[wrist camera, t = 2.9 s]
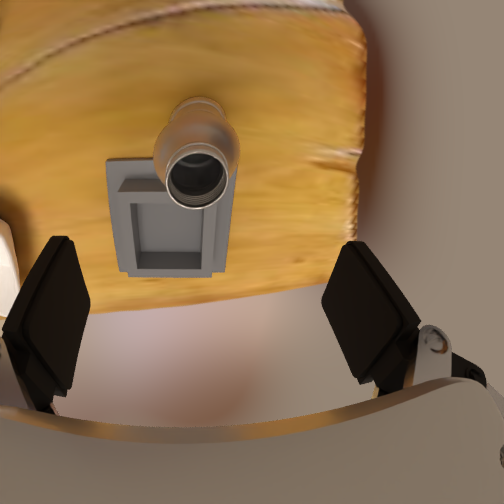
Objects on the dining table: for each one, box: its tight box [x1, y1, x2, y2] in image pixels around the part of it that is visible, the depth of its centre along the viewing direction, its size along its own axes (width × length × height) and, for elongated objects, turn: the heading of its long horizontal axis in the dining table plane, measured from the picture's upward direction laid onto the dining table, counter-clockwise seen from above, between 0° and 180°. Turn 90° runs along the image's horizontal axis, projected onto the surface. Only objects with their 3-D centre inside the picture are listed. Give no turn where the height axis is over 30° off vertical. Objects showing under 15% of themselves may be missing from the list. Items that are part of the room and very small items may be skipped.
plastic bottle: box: [153, 97, 240, 210], centre depth 23 cm, size 6×7×20 cm
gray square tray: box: [106, 158, 237, 278], centre depth 36 cm, size 18×17×5 cm
